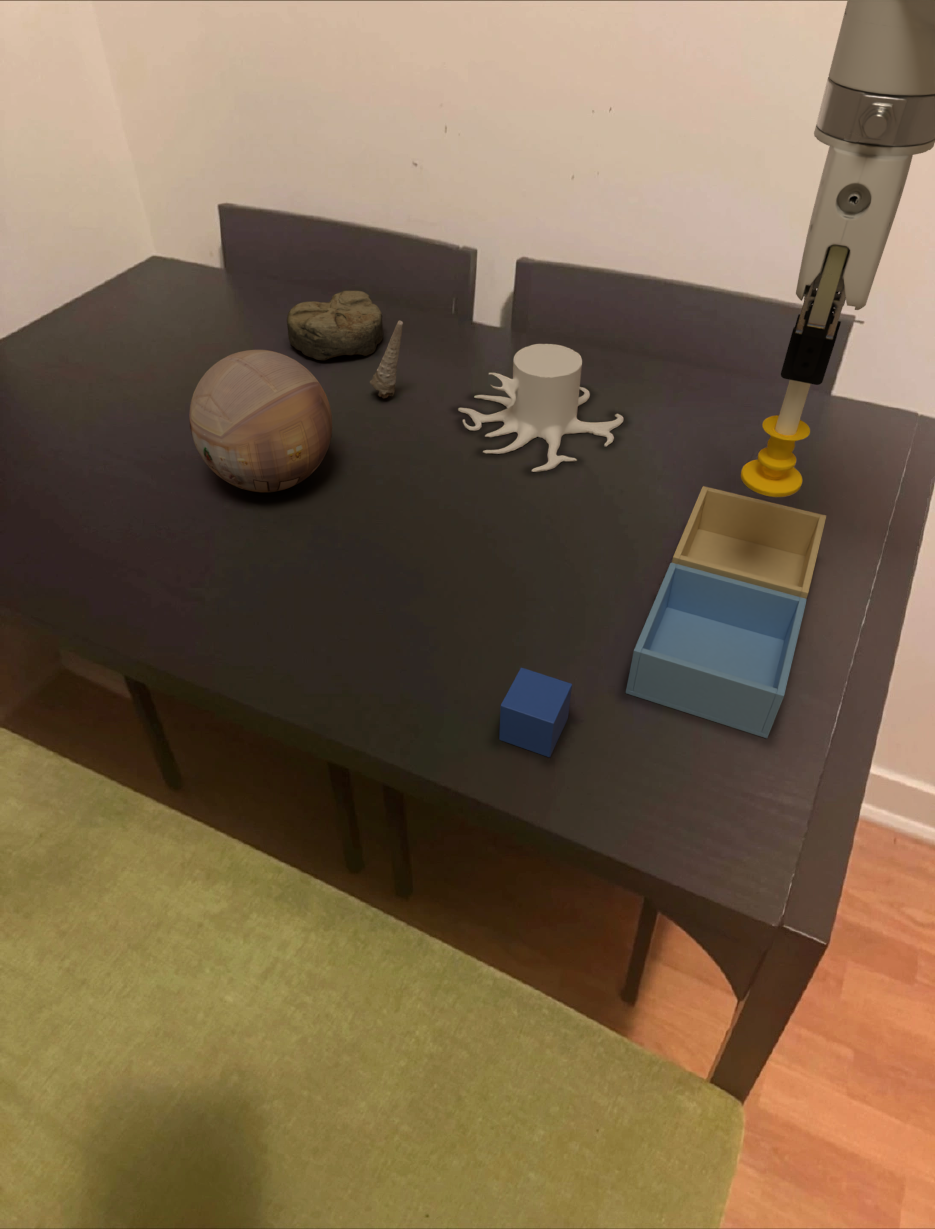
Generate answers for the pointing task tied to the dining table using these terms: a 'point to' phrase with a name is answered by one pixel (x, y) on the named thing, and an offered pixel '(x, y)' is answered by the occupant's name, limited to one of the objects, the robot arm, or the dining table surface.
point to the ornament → (260, 420)
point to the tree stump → (542, 402)
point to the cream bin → (752, 541)
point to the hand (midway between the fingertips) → (803, 371)
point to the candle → (780, 448)
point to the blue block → (535, 711)
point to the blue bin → (717, 649)
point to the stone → (336, 326)
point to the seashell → (388, 365)
